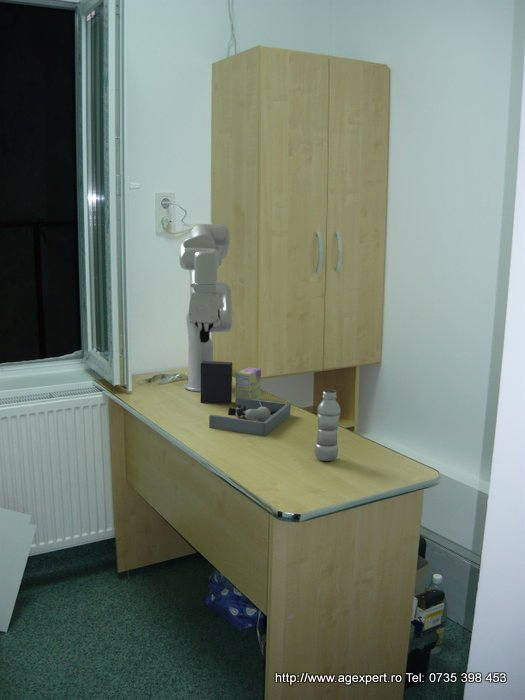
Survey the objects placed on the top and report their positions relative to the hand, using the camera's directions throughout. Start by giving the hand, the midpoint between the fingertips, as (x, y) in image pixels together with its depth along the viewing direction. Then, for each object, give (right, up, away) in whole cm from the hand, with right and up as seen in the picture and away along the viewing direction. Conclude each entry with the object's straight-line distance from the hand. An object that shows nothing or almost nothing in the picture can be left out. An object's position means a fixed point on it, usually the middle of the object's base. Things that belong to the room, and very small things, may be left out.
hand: (204, 341), depth 230 cm
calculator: (+3, -22, +15) cm, 27 cm away
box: (+14, -22, +17) cm, 31 cm away
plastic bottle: (+38, -34, -39) cm, 64 cm away
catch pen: (+15, -26, -5) cm, 31 cm away
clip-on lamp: (+18, -26, -3) cm, 32 cm away
